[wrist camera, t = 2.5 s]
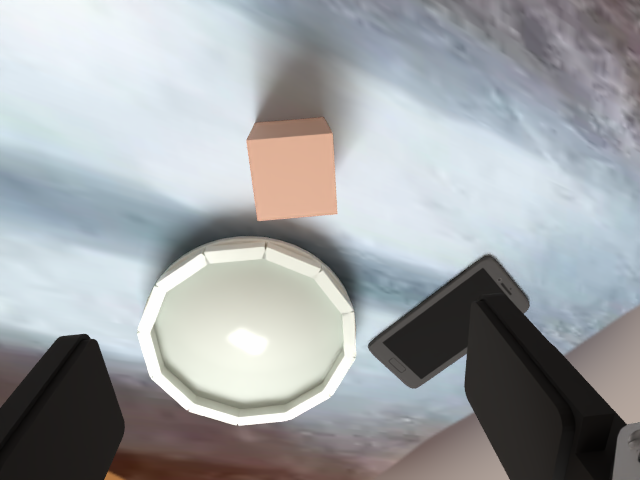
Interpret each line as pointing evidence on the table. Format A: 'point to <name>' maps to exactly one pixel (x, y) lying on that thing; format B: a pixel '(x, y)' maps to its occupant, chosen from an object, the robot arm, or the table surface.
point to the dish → (248, 330)
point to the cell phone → (441, 324)
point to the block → (292, 168)
